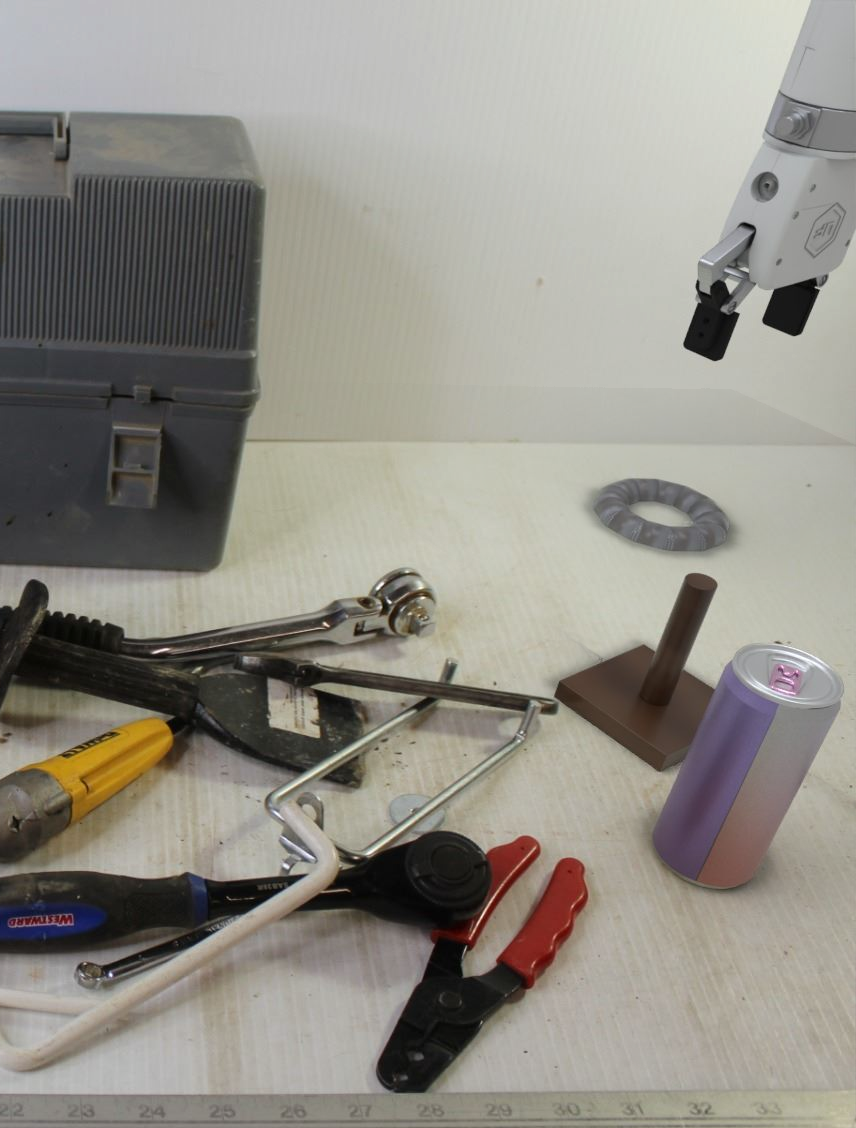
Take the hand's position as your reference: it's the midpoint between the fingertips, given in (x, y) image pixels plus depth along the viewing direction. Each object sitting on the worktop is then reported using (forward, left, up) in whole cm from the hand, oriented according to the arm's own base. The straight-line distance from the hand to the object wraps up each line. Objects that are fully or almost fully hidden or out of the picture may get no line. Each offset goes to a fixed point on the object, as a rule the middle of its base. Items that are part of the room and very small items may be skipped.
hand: (741, 341), depth 106 cm
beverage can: (+33, +28, -17) cm, 46 cm away
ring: (+3, +1, -15) cm, 16 cm away
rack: (+24, +17, -17) cm, 34 cm away
